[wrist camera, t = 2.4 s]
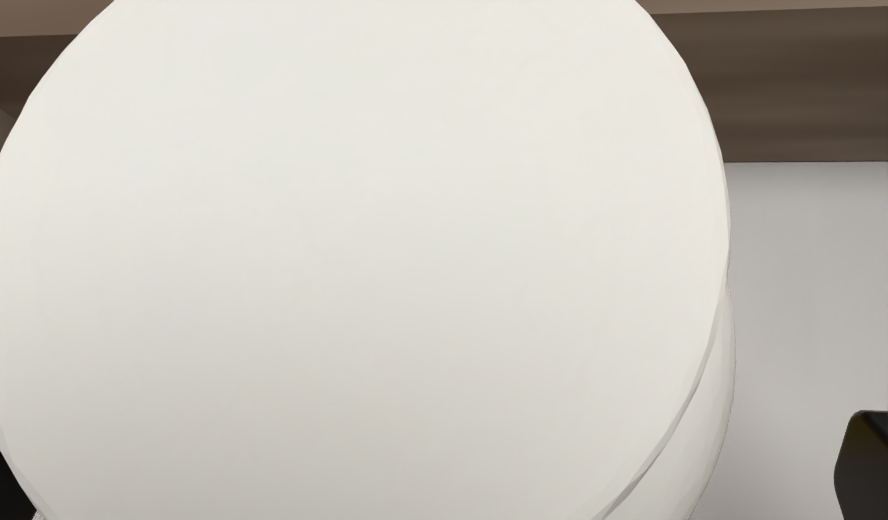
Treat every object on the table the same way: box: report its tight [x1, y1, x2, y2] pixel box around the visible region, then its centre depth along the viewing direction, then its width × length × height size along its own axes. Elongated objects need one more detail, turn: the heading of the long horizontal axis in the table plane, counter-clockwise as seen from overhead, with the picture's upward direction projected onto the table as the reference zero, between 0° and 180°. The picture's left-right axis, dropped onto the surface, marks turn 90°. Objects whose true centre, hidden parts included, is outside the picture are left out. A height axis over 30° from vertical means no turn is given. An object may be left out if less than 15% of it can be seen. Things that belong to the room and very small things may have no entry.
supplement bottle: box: [0, 0, 736, 520], centre depth 10 cm, size 7×7×13 cm
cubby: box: [0, 0, 888, 162], centre depth 14 cm, size 10×26×6 cm, turn 87°
